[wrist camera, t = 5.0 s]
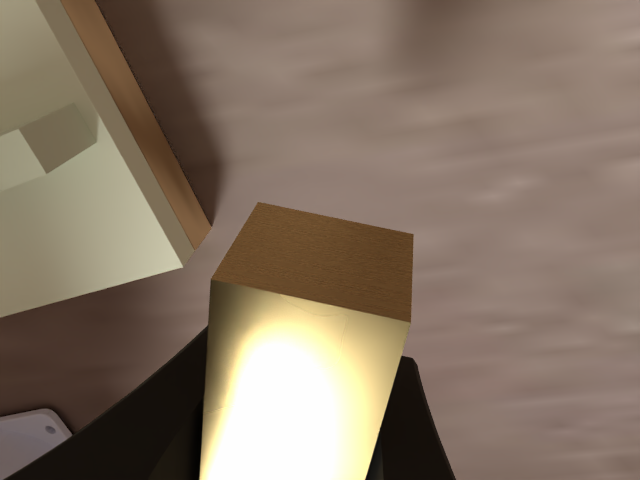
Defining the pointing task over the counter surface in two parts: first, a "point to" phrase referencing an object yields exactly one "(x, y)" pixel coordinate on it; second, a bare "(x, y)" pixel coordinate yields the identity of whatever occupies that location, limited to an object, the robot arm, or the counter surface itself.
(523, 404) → the counter surface
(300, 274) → the tan t-shaped block
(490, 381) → the counter surface
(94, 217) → the cover
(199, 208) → the base
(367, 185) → the counter surface
